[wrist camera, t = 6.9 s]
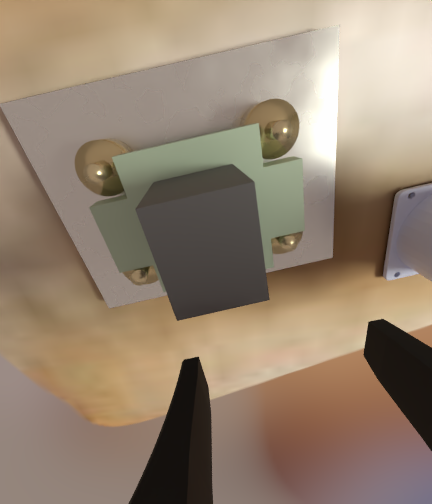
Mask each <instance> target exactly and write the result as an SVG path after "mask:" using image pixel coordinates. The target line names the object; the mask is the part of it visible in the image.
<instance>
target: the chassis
mask: <svg viewBox="0 0 432 504" xmlns="http://www.w3.org/2000/svg"><path fill="white" fill-rule="evenodd" d="M339 35H340V25H336V26H332V27H328V28H323V29H319V30H315V31H311V32H306V33H302V34H298V35H293V36H289V37H285V38H281V39H276V40H272V41H268V42H263V43H259V44H255V45H251V46H246V47H242V48H238V49H233V50H229V51H225V52H221V53H216V54H212V55H208V56H203V57H199V58H195V59H191V60H186V61H182V62H178V63H173V64H169V65H165V66H160V67H156V68H152V69H148V70H143V71H139V72H135V73H130V74H126V75H122V76H118V77H113V78H109V79H105V80H100V81H96V82H92V83H88V84H83V85H79V86H75V87H70V88H66V89H62V90H58V91H53V92H49V93H45V94H40V95H36V96H32V97H28V98H23V99H19V100H15V101H10V102H6V103H2V104H0V107H1V109H2V111H3V113H4V114H5V116H6V118H7V120H8V122H9V124H10V126H11V127H12V129H13V131H14V133H15V135H16V137H17V139H18V140H19V142H20V144H21V146H22V148H23V150H24V152H25V153H26V155H27V157H28V159H29V161H30V163H31V165H32V166H33V168H34V170H35V172H36V174H37V176H38V178H39V179H40V181H41V183H42V185H43V187H44V189H45V190H46V192H47V194H48V196H49V198H50V200H51V202H52V203H53V205H54V207H55V209H56V211H57V213H58V215H59V216H60V218H61V220H62V222H63V224H64V226H65V228H66V229H67V231H68V233H69V235H70V237H71V239H72V241H73V242H74V244H75V246H76V248H77V250H78V252H79V254H80V255H81V257H82V259H83V261H84V263H85V265H86V267H87V268H88V270H89V272H90V274H91V276H92V278H93V280H94V281H95V283H96V285H97V287H98V289H99V291H100V293H101V294H102V296H103V298H104V300H105V302H106V304H107V305H108V307H109V308H113V307H118V306H122V305H126V304H131V303H135V302H140V301H144V300H148V299H153V298H157V297H162V296H166V295H167V292H163V290H162V287H161V284H160V282H159V279H158V277H157V274H156V271H155V269H154V266H153V265H152V266H148V267H144V268H139V269H135V270H130V271H126V272H122V273H119V270H118V268H117V266H116V264H115V262H114V260H113V258H112V256H111V253H110V251H109V249H108V247H107V245H106V243H105V241H104V239H103V236H102V234H101V232H100V230H99V228H98V226H97V224H96V221H95V219H94V217H93V215H92V213H91V211H90V209H89V207H90V206H92V205H93V204H94V203H96V202H97V201H100V200H105V199H109V198H113V197H118V196H122V195H126V193H125V191H124V188H123V185H122V183H121V180H120V178H119V175H118V172H117V170H116V167H115V165H114V162H113V159H112V157H113V156H116V155H119V154H123V153H128V152H132V151H136V150H141V149H145V148H149V147H154V146H158V145H162V144H167V143H171V142H175V141H180V140H184V139H188V138H193V137H197V136H201V135H206V134H210V133H214V132H219V131H223V130H227V129H232V128H236V127H240V126H244V125H249V124H254V123H259V130H260V139H261V149H262V158H263V163H265V162H270V161H274V160H278V159H283V158H287V157H291V156H295V157H299V158H302V159H303V191H304V223H305V231H301V232H297V233H293V234H288V235H284V236H279V237H275V238H271V244H272V253H273V263H274V267H273V268H268V269H266V273H267V272H272V271H276V270H281V269H285V268H289V267H294V266H298V265H303V264H307V263H312V262H316V261H320V260H325V259H329V258H333V232H334V199H335V166H336V134H337V101H338V68H339Z"/></svg>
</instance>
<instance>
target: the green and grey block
mask: <svg viewBox="0 0 432 504" xmlns="http://www.w3.org/2000/svg"><path fill="white" fill-rule="evenodd" d="M112 159H113V162H114V165H115V167H116V170H117V172H118V175H119V178H120V180H121V183H122V185H123V188H124V191H125V193H126V195H122V196H118V197H113V198H109V199H105V200H100V201H97V202H96V203H94V204H93V205H92V206H90V207H89V209H90V211H91V213H92V215H93V217H94V219H95V221H96V224H97V226H98V228H99V230H100V232H101V234H102V236H103V239H104V241H105V243H106V245H107V247H108V249H109V251H110V253H111V256H112V258H113V260H114V262H115V264H116V266H117V268H118V270H119V273H122V272H126V271H130V270H135V269H139V268H144V267H148V266H152V265H153V266H154V269H155V271H156V274H157V277H158V279H159V282H160V284H161V287H162V290H163V292H167V295H168V298H169V300H170V303H171V306H172V308H173V311H174V314H175V316H176V319H177V321H178V320H183V319H187V318H192V317H196V316H200V315H205V314H209V313H214V312H218V311H222V310H227V309H231V308H236V307H240V306H245V305H249V304H253V303H258V302H262V301H267V300H269V293H268V285H267V277H266V269H268V268H273V267H274V263H273V253H272V244H271V238H275V237H279V236H284V235H288V234H293V233H297V232H301V231H305V223H304V191H303V159H302V158H299V157H295V156H291V157H287V158H283V159H278V160H274V161H270V162H265V163H263V158H262V149H261V139H260V130H259V123H254V124H249V125H244V126H240V127H236V128H232V129H227V130H223V131H219V132H214V133H210V134H206V135H201V136H197V137H193V138H188V139H184V140H180V141H175V142H171V143H167V144H162V145H158V146H154V147H149V148H145V149H141V150H136V151H132V152H128V153H123V154H119V155H116V156H113V157H112Z"/></svg>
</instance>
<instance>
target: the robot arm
mask: <svg viewBox="0 0 432 504" xmlns="http://www.w3.org/2000/svg"><path fill="white" fill-rule="evenodd" d="M410 193H411V194H410ZM409 194H410V196H409ZM408 196H409V197H408ZM416 274H421V275H422V276H424V277H425V278H427V279H429V280H430V281H432V183H429V184H424V185H420V186H416V187H411V188H407V189H402V190H400V191H399V192H397V194H396V195H395V198H394V205H393V211H392V218H391V225H390V231H389V238H388V245H387V251H386V258H385V265H384V271H383V277H384V278H385V279H386V280H394V279H398V278H402V277H407V276H411V275H416ZM364 357H365V359H366V360H367V362H368V364H369V365H370V367H371V369H372V370H373V372H374V374H375V375H376V377H377V379H378V380H379V381H380V383H381V384H382V386H383V387H384V388H385V390H386V391H387V392H388V393H389V395H390V396H391V398H392V399H393V400H394V402H395V403H396V404H397V405H398V407H399V408H400V409H401V411H402V412H403V413H404V415H405V416H406V417H407V419H408V420H409V421H410V423H411V424H412V425H413V427H414V428H415V429H416V431H417V432H418V433H419V434H420V436H421V437H422V438H423V440H424V441H425V443H426V444H427V445H428V447H429V448H430V449H431V451H432V348H431V347H429V346H428V345H426V344H424V343H423V342H421V341H419V340H418V339H416V338H414V337H413V336H411V335H409V334H408V333H406V332H404V331H403V330H401V329H399V328H398V327H396V326H394V325H393V324H391V323H389V322H388V321H386V320H384V319H380V320H375V321H370V322H369V323H368V329H367V336H366V342H365V348H364ZM211 442H212V439H211V408H210V398H209V389H208V384H207V381H206V378H205V375H204V372H203V369H202V366H201V363H200V360H199V357H195V358H190V359H185V360H184V361H183V362H182V366H181V370H180V374H179V378H178V381H177V385H176V388H175V391H174V395H173V398H172V401H171V404H170V407H169V410H168V413H167V415H166V419H165V421H164V424H163V426H162V429H161V432H160V434H159V437H158V439H157V442H156V444H155V447H154V449H153V452H152V454H151V457H150V459H149V461H148V463H147V466H146V468H145V470H144V472H143V475H142V477H141V479H140V481H139V483H138V486H137V488H136V490H135V492H134V494H133V496H132V498H131V500H130V502H129V504H213V494H212V446H211V444H212V443H211Z"/></svg>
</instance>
